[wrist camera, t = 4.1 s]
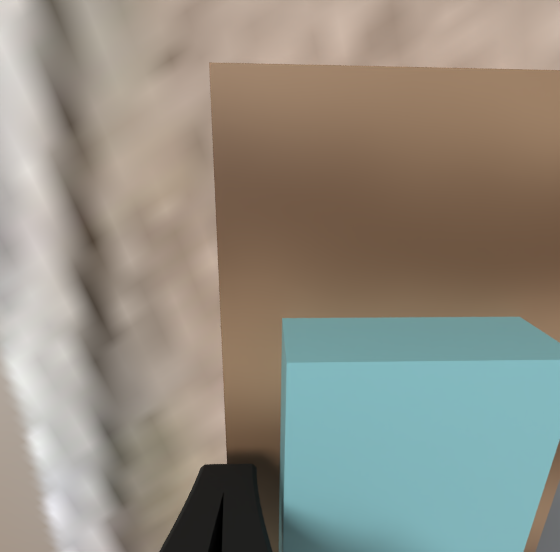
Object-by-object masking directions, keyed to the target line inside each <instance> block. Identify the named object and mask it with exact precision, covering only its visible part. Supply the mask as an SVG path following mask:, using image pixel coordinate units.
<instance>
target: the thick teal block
mask: <svg viewBox="0 0 560 552" xmlns="http://www.w3.org/2000/svg"><path fill="white" fill-rule="evenodd" d="M559 440H560V343H559V342H558V341H556V340H555V339H553V338H552V337H550V336H549V335H547V334H546V333H544V332H543V331H541V330H539V329H538V328H536V327H535V326H533V325H532V324H530V323H529V322H527V321H526V320H524V319H523V318H521V317H389V318H282V360H281V427H280V494H279V552H524V549H525V545H526V542H527V539H528V536H529V533H530V530H531V527H532V524H533V521H534V518H535V514H536V511H537V508H538V505H539V502H540V499H541V496H542V493H543V490H544V487H545V484H546V480H547V477H548V474H549V471H550V468H551V465H552V462H553V459H554V456H555V453H556V449H557V446H558V443H559Z"/></svg>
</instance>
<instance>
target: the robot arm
mask: <svg viewBox="0 0 560 552" xmlns="http://www.w3.org/2000/svg"><path fill="white" fill-rule="evenodd" d="M159 552H273V551H272V548H271V544H270V541H269V537H268V533H267V530H266V526H265V522H264V518H263V513H262V508H261V503H260V498H259V492H258V484H257V467H256V466H255V465H254V464H210V465H204V466H203V467H201V468H200V471H199V473H198V476H197V478H196V481H195V483H194V485H193V488H192V490H191V492H190V494H189V496H188V498H187V500H186V502H185V504H184V506H183V508H182V510H181V512H180V514H179V516H178V518H177V520H176V522H175V524H174V526H173V528H172V529H171V531H170V533H169V535H168V537H167V539H166V541H165V542H164V544H163V546H162V548H161V550H160V551H159Z"/></svg>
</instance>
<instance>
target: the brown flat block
mask: <svg viewBox="0 0 560 552" xmlns="http://www.w3.org/2000/svg"><path fill="white" fill-rule="evenodd" d="M209 68H210V91H211V113H212V135H213V158H214V180H215V202H216V225H217V247H218V269H219V292H220V314H221V336H222V359H223V381H224V403H225V425H226V448H227V464H254V465H255V466H256V467H257V484H258V492H259V498H260V503H261V508H262V513H263V518H264V522H265V526H266V530H267V533H268V537H269V541H270V544H271V548H272V551H273V552H279V494H280V427H281V360H282V318H389V317H521V318H523V319H524V320H526V321H527V322H529V323H530V324H532V325H533V326H535V327H536V328H538V329H539V330H541V331H543V332H544V333H546V334H547V335H549V336H550V337H552V338H553V339H555V340H556V341H558V342H559V343H560V70H522V69H477V68H432V67H386V66H341V65H296V64H250V63H209ZM559 481H560V440H559V443H558V446H557V449H556V453H555V456H554V459H553V462H552V465H551V468H550V471H549V474H548V477H547V480H546V484H545V487H544V490H543V493H542V496H541V499H540V502H539V505H538V508H537V511H536V514H535V518H534V521H533V524H532V527H531V530H530V533H529V536H528V539H527V542H526V545H525V549H524V552H536V549H537V546H538V543H539V540H540V537H541V534H542V531H543V528H544V525H545V522H546V519H547V516H548V513H549V510H550V507H551V504H552V501H553V498H554V495H555V492H556V489H557V486H558V484H559Z"/></svg>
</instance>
